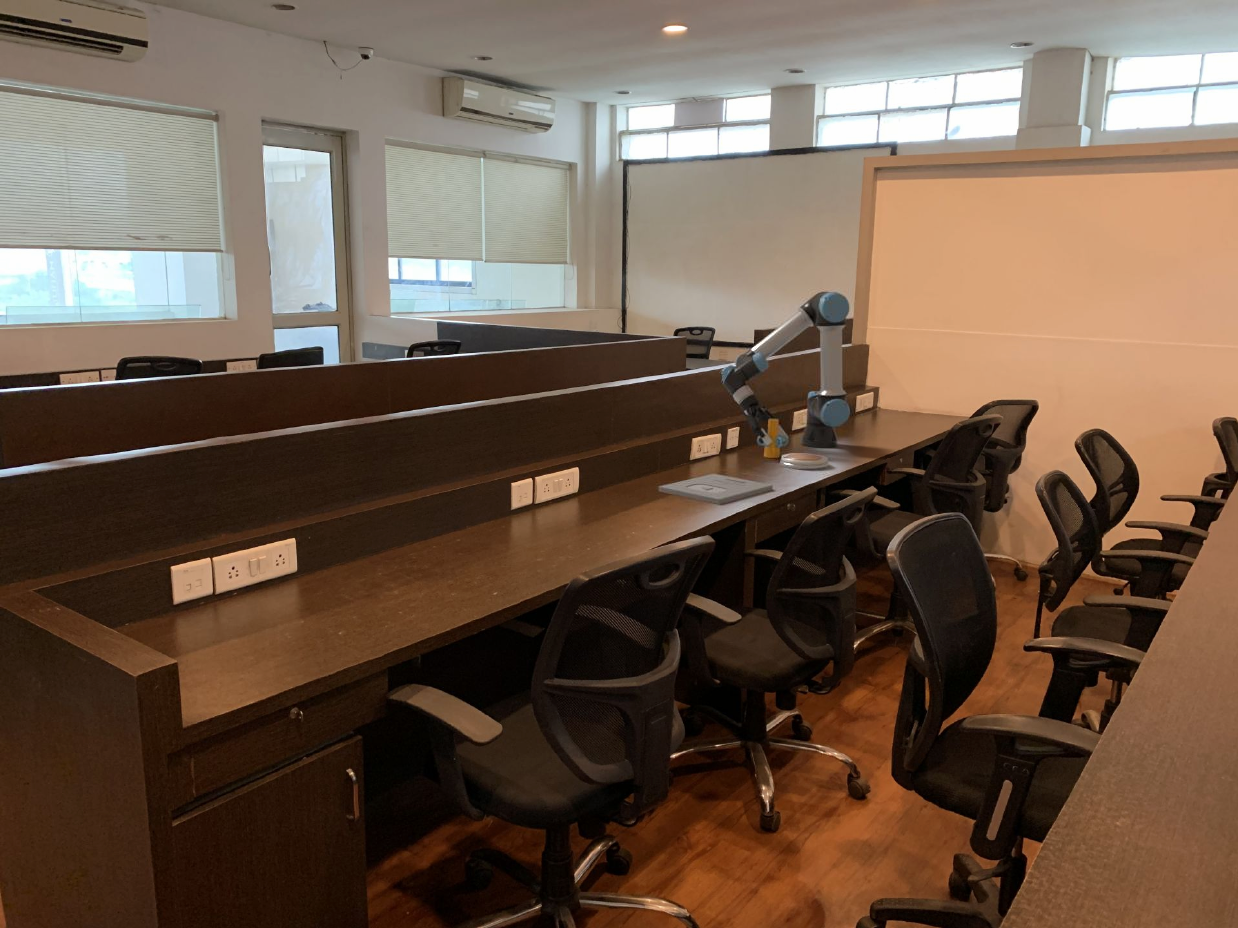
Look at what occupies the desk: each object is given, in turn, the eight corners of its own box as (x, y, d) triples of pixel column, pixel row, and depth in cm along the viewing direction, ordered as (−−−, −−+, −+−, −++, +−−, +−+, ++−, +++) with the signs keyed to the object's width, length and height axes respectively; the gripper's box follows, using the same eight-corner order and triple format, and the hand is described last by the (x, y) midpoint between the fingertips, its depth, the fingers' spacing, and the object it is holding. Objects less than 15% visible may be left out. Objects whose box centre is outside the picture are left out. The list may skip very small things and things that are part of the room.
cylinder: (786, 455, 372) (788, 418, 369) (788, 459, 362) (790, 422, 359) (755, 453, 373) (757, 417, 370) (756, 458, 363) (758, 421, 360)
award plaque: (772, 491, 310) (772, 484, 310) (718, 506, 288) (718, 499, 288) (713, 479, 326) (713, 473, 326) (658, 492, 305) (658, 486, 304)
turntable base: (819, 460, 362) (819, 456, 361) (834, 470, 344) (834, 466, 344) (774, 460, 360) (774, 457, 359) (787, 470, 342) (787, 466, 342)
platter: (818, 457, 361) (819, 452, 360) (833, 465, 344) (833, 461, 344) (776, 457, 359) (776, 452, 359) (788, 465, 342) (788, 461, 342)
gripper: (756, 402, 383) (786, 443, 376) (724, 408, 364) (755, 451, 358) (768, 391, 378) (799, 432, 372) (736, 396, 360) (768, 439, 353)
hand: (778, 441), depth 365 cm, fingers closed on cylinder, 12 cm apart
